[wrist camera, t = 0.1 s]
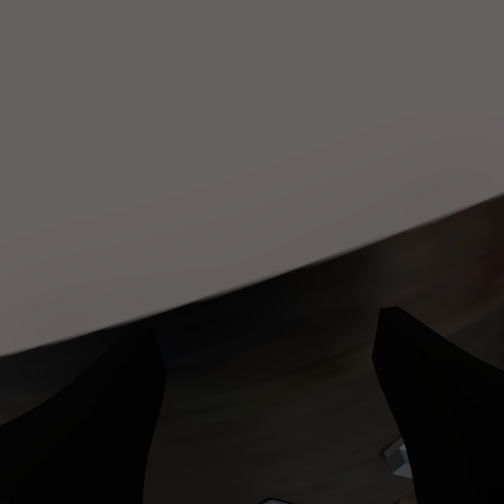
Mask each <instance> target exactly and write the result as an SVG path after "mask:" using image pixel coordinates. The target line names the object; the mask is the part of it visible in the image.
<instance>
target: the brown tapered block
mask: <svg viewBox="0 0 504 504" xmlns="http://www.w3.org/2000/svg"><path fill="white" fill-rule="evenodd" d="M398 504H417V501H416V495H415V496H411V497H407V498H404V499H401V500H400V502H399V503H398Z"/></svg>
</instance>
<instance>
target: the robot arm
mask: <svg viewBox="0 0 504 504" xmlns="http://www.w3.org/2000/svg"><path fill="white" fill-rule="evenodd" d="M372 359H373V363H374V367H375V370H376V374H377V377H378V380H379V383H380V386H381V388H382V390H383V393H384V395H385V398H386V400H387V402H388V405H389V407H390V409H391V412H392V414H393V416H394V419H395V421H396V423H397V426H398V428H399V431H400V433H401V436H402V439H403V441H404V444H405V448H406V452H407V456H408V460H409V464H410V468H411V473H412V478H413V483H414V488H415V494H416V501H417V504H504V371H502V370H500V369H498V368H496V367H494V366H492V365H490V364H488V363H486V362H484V361H482V360H480V359H478V358H476V357H474V356H472V355H471V354H469V353H467V352H466V351H464V350H462V349H461V348H459V347H457V346H456V345H454V344H453V343H451V342H450V341H448V340H447V339H445V338H444V337H442V336H441V335H439V334H438V333H436V332H435V331H433V330H432V329H430V328H429V327H427V326H426V325H425V324H423V323H422V322H420V321H419V320H417V319H416V318H415V317H413V316H412V315H410V314H409V313H407V312H406V311H404V310H403V309H401V308H399V307H397V306H396V307H389V308H381V309H380V313H379V319H378V326H377V331H376V337H375V343H374V348H373V353H372ZM166 373H167V371H166V368H165V365H164V362H163V359H162V356H161V353H160V349H159V346H158V343H157V340H156V336H155V333H154V329H153V326H152V325H140V326H134V327H133V328H131V329H130V330H129V331H128V332H127V333H126V334H125V335H124V336H123V337H121V338H120V339H119V340H118V341H117V342H116V343H115V344H114V345H113V346H112V347H111V348H110V349H109V350H108V351H107V352H105V353H104V354H103V355H102V356H101V357H100V358H99V359H98V360H97V361H96V362H95V363H94V364H93V365H91V366H90V367H89V368H88V369H87V370H85V371H84V372H83V373H82V374H81V375H80V376H78V377H77V378H76V379H75V380H74V381H73V382H71V383H70V384H69V385H68V386H66V387H65V388H64V389H62V390H61V391H60V392H58V393H57V394H55V395H54V396H52V397H51V398H50V399H48V400H47V401H45V402H44V403H42V404H40V405H38V406H37V407H35V408H33V409H32V410H30V411H28V412H27V413H25V414H23V415H21V416H19V417H18V418H15V419H13V420H11V421H9V422H7V423H5V424H3V425H0V504H142V499H143V487H144V478H145V470H146V463H147V458H148V453H149V449H150V445H151V441H152V438H153V434H154V430H155V427H156V423H157V419H158V416H159V412H160V408H161V404H162V401H163V396H164V389H165V381H166ZM263 504H287V503H284V502H280V501H276V500H268V501H267V502H265V503H263Z"/></svg>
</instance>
